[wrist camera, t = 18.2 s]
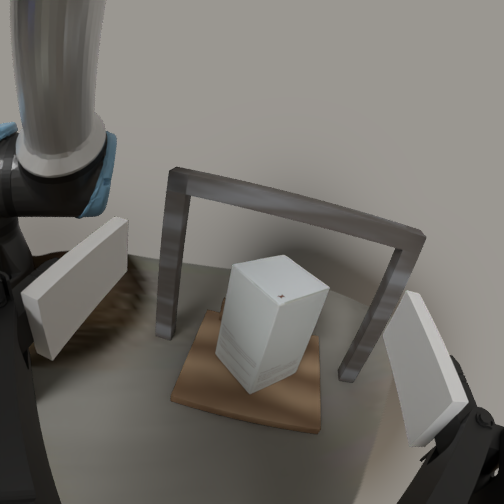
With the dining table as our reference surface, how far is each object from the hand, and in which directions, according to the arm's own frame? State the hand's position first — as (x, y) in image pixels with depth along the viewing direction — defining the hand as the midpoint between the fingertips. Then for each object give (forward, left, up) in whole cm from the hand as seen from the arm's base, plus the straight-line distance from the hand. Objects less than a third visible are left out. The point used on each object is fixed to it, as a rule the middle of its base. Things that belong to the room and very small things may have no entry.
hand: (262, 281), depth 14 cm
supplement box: (-12, +10, -21) cm, 26 cm away
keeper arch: (-12, +10, -22) cm, 27 cm away
